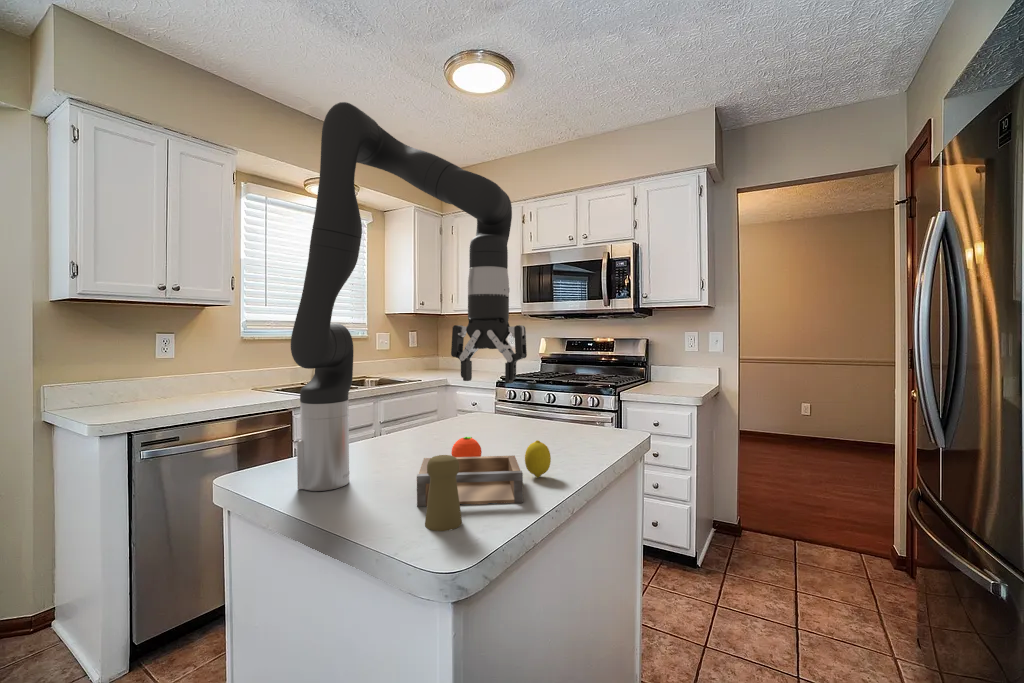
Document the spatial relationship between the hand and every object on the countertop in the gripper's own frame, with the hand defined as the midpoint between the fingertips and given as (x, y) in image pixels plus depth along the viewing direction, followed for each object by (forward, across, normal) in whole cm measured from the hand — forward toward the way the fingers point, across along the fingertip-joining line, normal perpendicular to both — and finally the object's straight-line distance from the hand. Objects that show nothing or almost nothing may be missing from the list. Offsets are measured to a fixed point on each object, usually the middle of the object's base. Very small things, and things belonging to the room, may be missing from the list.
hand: (488, 381), depth 89 cm
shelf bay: (+22, -5, +3) cm, 23 cm away
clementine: (+22, -14, +18) cm, 32 cm away
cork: (+22, -2, -12) cm, 26 cm away
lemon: (+22, +4, +17) cm, 28 cm away
